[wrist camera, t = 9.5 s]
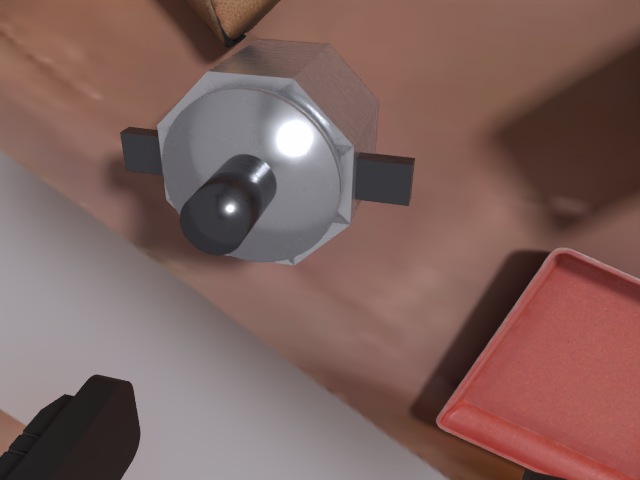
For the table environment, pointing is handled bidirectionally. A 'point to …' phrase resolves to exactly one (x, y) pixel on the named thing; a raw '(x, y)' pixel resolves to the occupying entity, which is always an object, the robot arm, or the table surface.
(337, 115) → the pot
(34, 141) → the table surface
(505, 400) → the plant saucer
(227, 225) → the lid
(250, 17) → the sunglasses case
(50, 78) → the table surface
